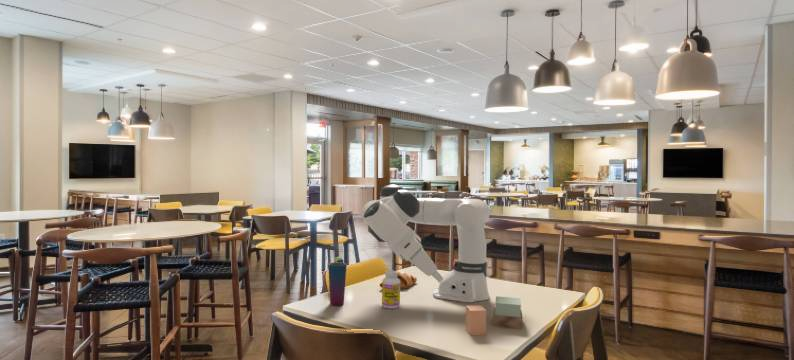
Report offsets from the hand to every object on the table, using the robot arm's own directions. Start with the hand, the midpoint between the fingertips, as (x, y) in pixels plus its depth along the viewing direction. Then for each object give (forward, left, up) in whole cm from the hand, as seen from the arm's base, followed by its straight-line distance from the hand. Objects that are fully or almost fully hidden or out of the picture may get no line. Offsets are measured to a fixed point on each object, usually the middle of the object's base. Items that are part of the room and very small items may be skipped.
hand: (437, 276), depth 138 cm
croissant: (-24, +51, -18) cm, 59 cm away
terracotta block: (+12, +4, -18) cm, 22 cm away
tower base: (+22, +16, -18) cm, 32 cm away
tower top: (+21, +15, -14) cm, 30 cm away
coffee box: (-47, +39, -18) cm, 64 cm away
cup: (-40, +19, -18) cm, 48 cm away
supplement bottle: (-20, +22, -18) cm, 35 cm away
